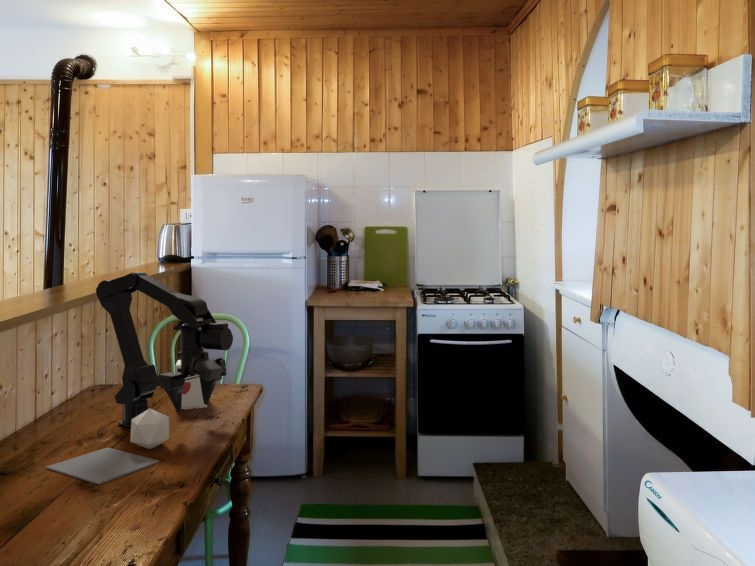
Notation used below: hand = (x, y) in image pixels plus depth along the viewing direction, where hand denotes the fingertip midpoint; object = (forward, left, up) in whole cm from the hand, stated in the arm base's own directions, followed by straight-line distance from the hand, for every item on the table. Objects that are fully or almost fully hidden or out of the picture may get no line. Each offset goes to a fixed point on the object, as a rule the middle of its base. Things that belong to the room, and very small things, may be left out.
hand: (192, 408), depth 154 cm
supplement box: (-17, +16, -7) cm, 24 cm away
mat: (0, -26, -7) cm, 27 cm away
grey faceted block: (0, -13, -7) cm, 15 cm away
